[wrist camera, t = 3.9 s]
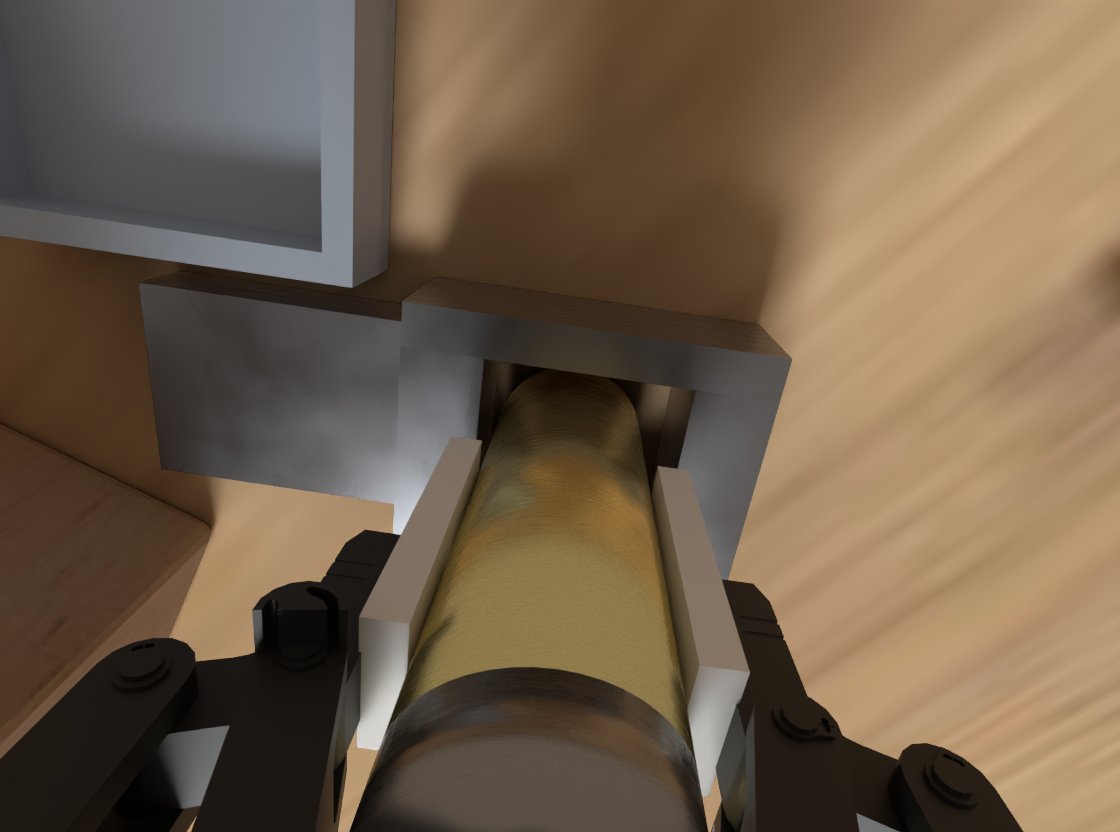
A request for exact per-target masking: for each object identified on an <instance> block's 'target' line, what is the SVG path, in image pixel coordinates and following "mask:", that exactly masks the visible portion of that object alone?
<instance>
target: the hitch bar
mask: <svg viewBox="0 0 1120 832" xmlns="http://www.w3.org/2000/svg"><path fill="white" fill-rule="evenodd" d="M139 291H140V299H141V308H142V316H143V324H144V332H145V340H146V348H147V356H148V365H149V373H150V381H151V389H152V397H153V405H154V413H155V421H156V430H157V438H158V446H159V454H160V462H161V469H164V470H171V471H178V472H185V473H191V474H198V475H205V476H211V477H218V478H225V479H232V480H238V481H245V482H252V483H258V484H265V485H272V486H279V487H285V488H292V489H299V490H305V491H312V492H319V493H325V494H332V495H339V496H346V497H352V498H359V499H366V500H372V501H379V502H386V503H393V504H394V522H393V534H398V535H401V534H402V532H403V530H404V528H405V526H406V524H407V522H408V520H409V518H410V516H411V514H412V512H413V510H414V508H415V506H416V504H417V502H418V500H419V498H420V497H421V495H422V493H423V491H424V489H425V487H426V485H427V483H428V481H429V479H430V477H431V475H432V473H433V471H434V469H435V467H436V465H437V463H438V461H439V459H440V457H441V455H442V453H443V451H444V450H445V448H446V446H447V444H448V442H449V440H450V438H451V436H453V437H460V438H467V439H474V440H481V441H482V444H481V455H480V465H479V472H480V470H481V467H482V464H483V461H484V459H485V456H486V453H487V450H488V448H489V445H490V442H491V439H492V429H493V419H494V410H495V400H496V390H497V381H498V371H499V362H500V361H502V362H509V363H516V364H522V365H529V366H536V367H543V368H549V369H556V370H563V371H570V372H576V373H583V374H590V375H596V376H603V377H610V378H617V379H623V380H630V381H637V382H644V383H650V384H657V385H664V386H671V387H672V389H671V393H670V398H669V402H668V407H667V412H666V416H665V421H664V425H663V430H662V434H661V439H660V444H659V448H658V453H657V457H656V462H655V466H654V471H653V476H652V480H651V485H650V495H652V491H653V486H654V482H655V477H656V473H657V468H658V466H661V467H667V468H674V469H681V470H688V471H689V474H690V477H691V481H692V484H693V487H694V491H695V494H696V497H697V500H698V504H699V507H700V510H701V514H702V517H703V520H704V523H705V527H706V530H707V533H708V537H709V540H710V543H711V546H712V550H713V553H714V556H715V560H716V563H717V566H718V569H719V573H720V576H721V579H723V580H728V577H729V574H730V570H731V567H732V564H733V560H734V557H735V553H736V550H737V546H738V543H739V540H740V536H741V533H742V529H743V526H744V522H745V519H746V516H747V512H748V509H749V505H750V502H751V499H752V495H753V492H754V488H755V485H756V481H757V478H758V475H759V471H760V468H761V464H762V461H763V457H764V454H765V451H766V447H767V444H768V440H769V437H770V434H771V430H772V427H773V423H774V420H775V416H776V413H777V410H778V406H779V403H780V399H781V396H782V392H783V389H784V386H785V382H786V379H787V375H788V372H789V369H790V365H791V362H792V358H791V357H790V356H789V355H788V354H787V353H786V352H785V351H784V350H783V349H782V348H781V347H780V346H779V345H778V344H777V343H776V342H775V341H774V340H773V339H772V338H771V337H770V335H769V334H768V333H767V332H766V331H765V330H764V329H763V328H762V327H761V326H760V325H759V324H752V323H746V322H739V321H732V320H726V319H719V318H712V317H705V316H699V315H692V314H685V313H678V312H672V311H665V310H658V309H651V308H645V307H638V306H631V305H624V304H618V303H611V302H604V301H597V300H591V299H584V298H577V297H571V296H564V295H557V294H550V293H544V292H537V291H530V290H523V289H517V288H510V287H503V286H496V285H490V284H483V283H476V282H469V281H463V280H456V279H449V278H442V277H435V278H434V279H432V280H431V281H429V282H428V283H427V284H425V285H424V286H423V287H421V288H420V289H418V290H417V291H416V292H414V293H413V294H411V295H410V296H409V297H407V298H406V299H404V300H403V301H402V304H401V303H394V302H387V301H380V300H374V299H367V298H360V297H354V296H347V295H340V294H333V293H327V292H320V291H313V290H306V289H300V288H293V287H286V286H279V285H273V284H266V283H259V282H253V281H246V280H239V279H232V278H226V277H219V276H212V275H205V274H199V273H192V272H185V271H180V272H176V273H172V274H169V275H165V276H161V277H158V278H154V279H150V280H146V281H143V282H139Z"/></svg>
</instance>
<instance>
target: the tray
mask: <svg viewBox="0 0 1120 832" xmlns="http://www.w3.org/2000/svg"><path fill="white" fill-rule="evenodd" d="M395 19H396V0H0V236H6V237H12V238H19V239H26V240H33V241H39V242H46V243H53V244H60V245H66V246H73V247H80V248H87V249H93V250H100V251H107V252H113V253H120V254H127V255H134V256H140V257H147V258H154V259H161V260H167V261H174V262H181V263H188V264H194V265H201V266H208V267H215V268H221V269H228V270H235V271H241V272H248V273H255V274H262V275H268V276H275V277H282V278H289V279H295V280H302V281H309V282H316V283H322V284H329V285H336V286H342V287H349V288H353V287H355V286H357V285H359V284H361V283H363V282H365V281H367V280H369V279H371V278H372V277H374V276H376V275H378V274H380V273H382V272H384V271H386V270H388V252H389V219H390V185H391V152H392V119H393V85H394V52H395Z"/></svg>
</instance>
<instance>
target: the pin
mask: <svg viewBox="0 0 1120 832" xmlns="http://www.w3.org/2000/svg"><path fill="white" fill-rule="evenodd" d="M349 832H708V828H707V822H706V817H705V811H704V805H703V799H702V793H701V787H700V781H699V776H698V770H697V764H696V758H695V752H694V746H693V741H692V735H691V729H690V723H689V717H688V711H687V705H686V700H685V694H684V688H683V682H682V676H681V670H680V664H679V659H678V653H677V647H676V641H675V635H674V629H673V624H672V618H671V612H670V606H669V600H668V594H667V588H666V583H665V577H664V571H663V565H662V559H661V553H660V547H659V542H658V536H657V530H656V524H655V518H654V512H653V507H652V501H651V495H650V489H649V483H648V477H647V471H646V466H645V460H644V454H643V448H642V442H641V436H640V430H639V425H638V419H637V416H636V412H635V410H634V408H633V405H632V403H631V402H630V400H629V399H628V397H627V395H626V394H625V393H624V392H623V391H622V390H621V389H620V388H619V387H618V386H617V385H616V384H615V383H614V382H612V381H611V380H609V379H608V378H606V377H603V376H596V375H590V374H583V373H576V372H570V371H563V370H556V369H548V370H545V371H542V372H539V373H537V374H535V375H533V376H531V377H529V378H528V379H526V380H525V381H523V382H522V383H521V384H520V385H519V386H518V387H517V388H516V389H515V390H514V391H513V392H512V393H511V395H510V396H509V397H508V399H507V401H506V403H505V405H504V407H503V409H502V412H501V414H500V417H499V420H498V423H497V425H496V428H495V431H494V434H493V437H492V439H491V442H490V445H489V448H488V450H487V453H486V456H485V459H484V461H483V464H482V467H481V470H480V472H479V475H478V478H477V481H476V483H475V486H474V489H473V492H472V495H471V497H470V500H469V503H468V506H467V508H466V511H465V514H464V517H463V519H462V522H461V525H460V528H459V530H458V533H457V536H456V539H455V541H454V544H453V547H452V550H451V552H450V555H449V558H448V561H447V564H446V566H445V569H444V572H443V575H442V577H441V580H440V583H439V586H438V588H437V591H436V594H435V597H434V599H433V602H432V605H431V608H430V610H429V613H428V616H427V619H426V622H425V624H424V627H423V630H422V633H421V635H420V638H419V641H418V644H417V646H416V649H415V652H414V655H413V657H412V660H411V663H410V666H409V668H408V671H407V674H406V677H405V679H404V682H403V685H402V688H401V691H400V693H399V696H398V699H397V702H396V704H395V707H394V710H393V713H392V715H391V718H390V721H389V724H388V726H387V729H386V732H385V735H384V737H383V740H382V743H381V746H380V749H379V751H378V754H377V757H376V760H375V762H374V765H373V768H372V771H371V773H370V776H369V779H368V782H367V784H366V787H365V790H364V793H363V795H362V798H361V801H360V804H359V807H358V809H357V812H356V815H355V818H354V820H353V823H352V826H351V829H350V831H349Z"/></svg>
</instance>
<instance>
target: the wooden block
mask: <svg viewBox="0 0 1120 832" xmlns="http://www.w3.org/2000/svg"><path fill="white" fill-rule="evenodd" d="M209 536H210V528H209V527H208V526H207V525H206V524H205V523H204V522H202V521H200V520H198V519H196V518H194V517H192V516H190V515H188V514H186V513H184V512H182V511H179V510H177V509H175V508H173V507H171V506H169V505H167V504H165V503H163V502H161V501H159V500H157V499H155V498H153V497H150V496H148V495H146V494H144V493H142V492H140V491H138V490H136V489H134V488H132V487H130V486H128V485H126V484H124V483H121V482H119V481H117V480H115V479H113V478H111V477H109V476H107V475H105V474H103V473H101V472H99V471H97V470H95V469H92V468H90V467H88V466H86V465H84V464H82V463H80V462H78V461H76V460H74V459H72V458H70V457H68V456H65V455H63V454H61V453H59V452H57V451H55V450H53V449H51V448H49V447H47V446H45V445H43V444H41V443H39V442H36V441H34V440H32V439H30V438H28V437H26V436H24V435H22V434H20V433H18V432H16V431H14V430H12V429H10V428H7V427H5V426H3V425H1V424H0V759H1V758H2V757H3V756H4V755H5V754H6V753H7V752H8V751H9V750H10V749H11V748H12V747H13V746H14V745H15V744H16V743H17V742H18V741H19V740H20V739H21V738H22V737H23V736H24V735H25V734H26V733H27V732H28V731H29V730H30V729H31V728H32V727H33V726H34V725H35V724H36V723H37V722H38V721H39V720H40V719H41V718H42V717H43V716H44V715H45V714H46V713H47V712H48V711H49V710H50V709H51V708H52V707H53V706H54V705H55V704H56V703H57V702H58V701H59V700H60V699H61V698H62V697H63V696H64V695H65V694H66V693H67V692H68V691H69V690H70V689H71V688H72V687H73V686H74V685H75V684H76V683H77V682H78V681H79V680H80V679H81V678H82V677H84V676H85V675H86V674H87V673H88V672H89V671H90V670H91V669H92V668H93V667H94V666H95V665H96V664H97V663H98V662H99V661H101V660H102V659H103V658H105V657H106V656H107V655H109V654H110V653H111V652H113V651H115V650H117V649H119V648H122V647H124V646H126V645H128V644H130V643H133V642H137V641H142V640H146V639H151V638H168V637H169V634H170V632H171V630H172V627H173V625H174V622H175V620H176V618H177V615H178V613H179V610H180V608H181V605H182V603H183V601H184V598H185V596H186V593H187V591H188V589H189V586H190V584H191V581H192V579H193V577H194V574H195V572H196V569H197V567H198V564H199V562H200V560H201V557H202V555H203V552H204V550H205V548H206V545H207V543H208V540H209Z"/></svg>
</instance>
